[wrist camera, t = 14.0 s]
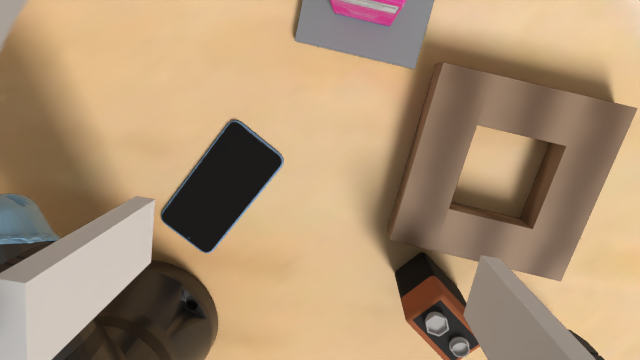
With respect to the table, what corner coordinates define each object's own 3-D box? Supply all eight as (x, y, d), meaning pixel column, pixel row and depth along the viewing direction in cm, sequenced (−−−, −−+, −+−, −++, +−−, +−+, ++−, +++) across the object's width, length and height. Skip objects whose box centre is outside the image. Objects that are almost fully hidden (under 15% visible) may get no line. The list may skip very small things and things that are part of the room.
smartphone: (287, 160, 41) (208, 257, 45) (288, 158, 42) (210, 254, 46) (231, 115, 40) (155, 218, 44) (234, 114, 41) (159, 216, 45)
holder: (387, 229, 43) (390, 240, 40) (436, 63, 38) (443, 62, 35) (546, 267, 43) (560, 281, 40) (615, 105, 38) (637, 108, 35)
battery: (422, 248, 43) (444, 297, 33) (460, 290, 44) (492, 349, 34) (392, 272, 44) (404, 326, 34) (430, 312, 45) (453, 376, 35)
